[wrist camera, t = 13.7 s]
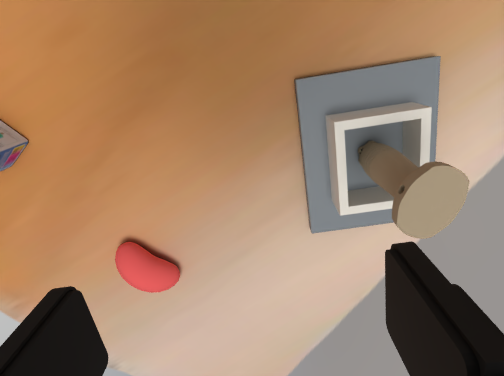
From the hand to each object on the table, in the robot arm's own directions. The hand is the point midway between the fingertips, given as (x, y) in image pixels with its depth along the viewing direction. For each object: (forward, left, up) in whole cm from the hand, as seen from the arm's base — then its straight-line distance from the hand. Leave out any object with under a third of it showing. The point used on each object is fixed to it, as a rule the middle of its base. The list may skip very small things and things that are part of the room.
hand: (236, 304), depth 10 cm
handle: (+6, +14, -31) cm, 34 cm away
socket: (+6, +14, -32) cm, 36 cm away
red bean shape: (+18, -18, -33) cm, 41 cm away
